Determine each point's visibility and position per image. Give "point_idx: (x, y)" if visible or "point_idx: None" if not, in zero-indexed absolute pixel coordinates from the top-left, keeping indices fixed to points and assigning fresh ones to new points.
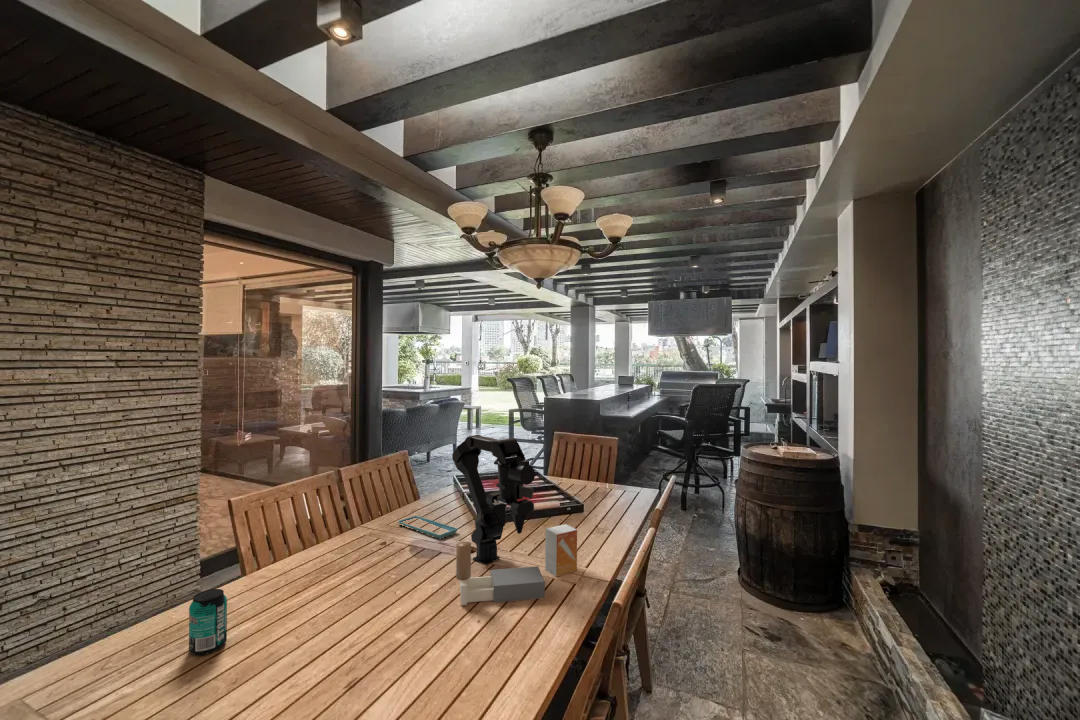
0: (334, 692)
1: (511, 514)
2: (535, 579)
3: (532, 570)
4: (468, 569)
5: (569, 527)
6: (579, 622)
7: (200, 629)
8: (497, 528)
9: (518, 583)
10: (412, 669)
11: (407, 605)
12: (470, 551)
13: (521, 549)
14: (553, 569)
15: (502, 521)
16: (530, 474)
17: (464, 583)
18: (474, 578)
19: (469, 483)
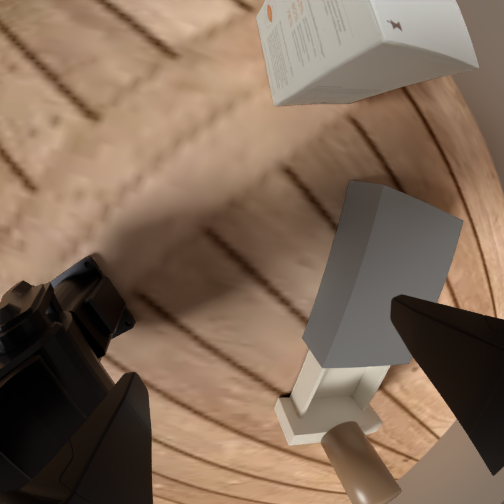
0: (406, 464)
1: (492, 467)
2: (445, 241)
3: (402, 224)
4: (369, 441)
5: None
6: (498, 193)
7: None
8: (84, 374)
9: (436, 299)
10: (430, 424)
11: (294, 467)
12: (389, 474)
13: (34, 136)
14: (343, 100)
15: (140, 421)
16: None
17: (371, 427)
18: (311, 399)
19: None
